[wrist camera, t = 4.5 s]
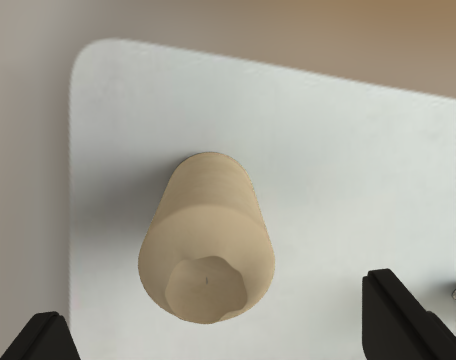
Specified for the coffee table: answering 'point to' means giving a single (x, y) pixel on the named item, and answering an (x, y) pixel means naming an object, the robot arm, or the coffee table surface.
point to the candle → (207, 243)
